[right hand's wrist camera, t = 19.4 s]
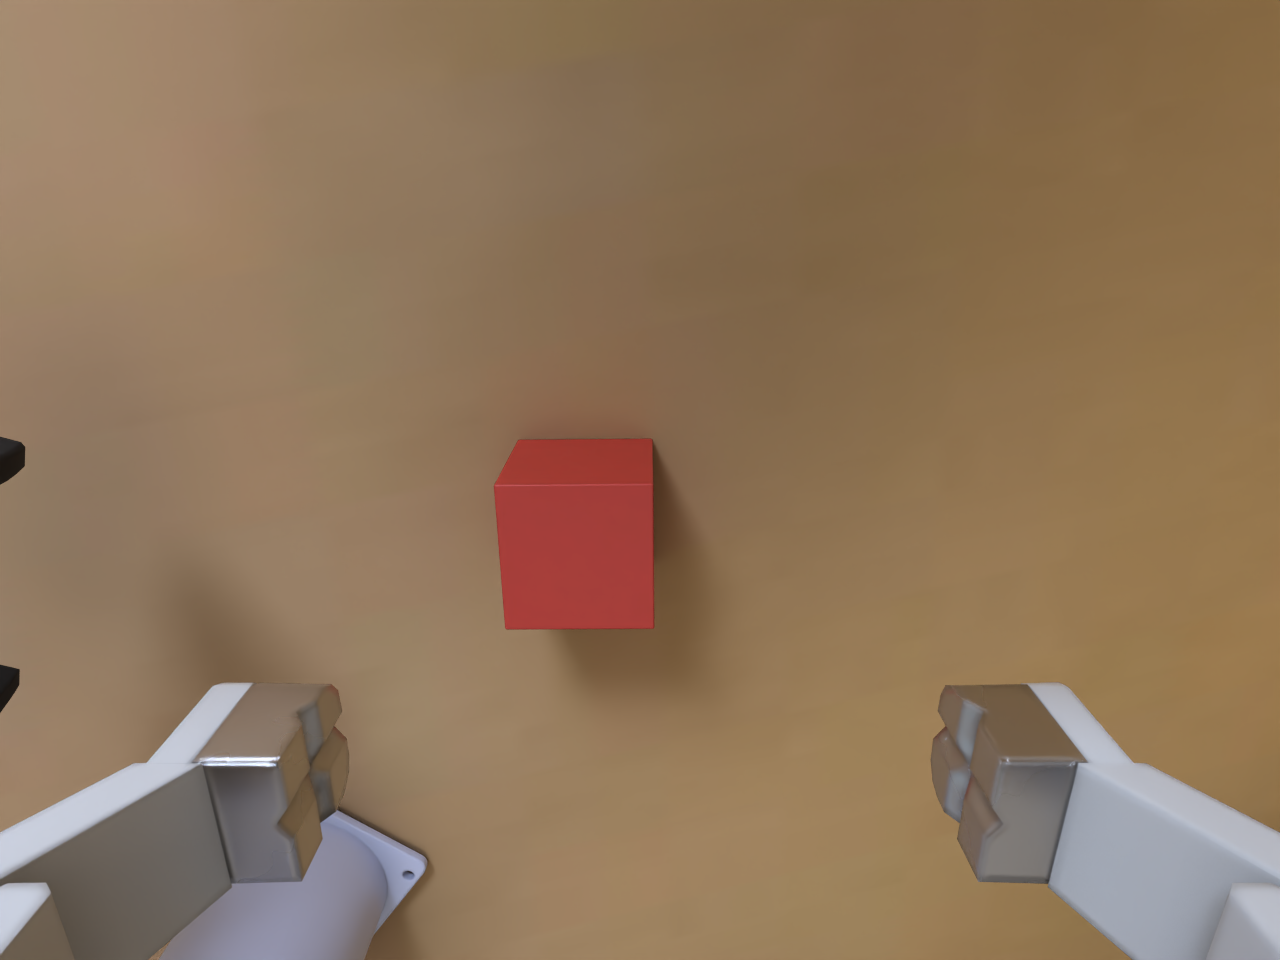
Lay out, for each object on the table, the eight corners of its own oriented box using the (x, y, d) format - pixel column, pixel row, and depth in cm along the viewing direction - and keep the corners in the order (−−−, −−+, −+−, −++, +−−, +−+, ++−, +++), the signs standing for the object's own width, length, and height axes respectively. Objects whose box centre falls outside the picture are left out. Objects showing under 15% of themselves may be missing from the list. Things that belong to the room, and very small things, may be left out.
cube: (526, 565, 30) (505, 630, 26) (517, 439, 28) (493, 484, 24) (653, 564, 30) (654, 629, 26) (652, 438, 28) (653, 483, 24)
